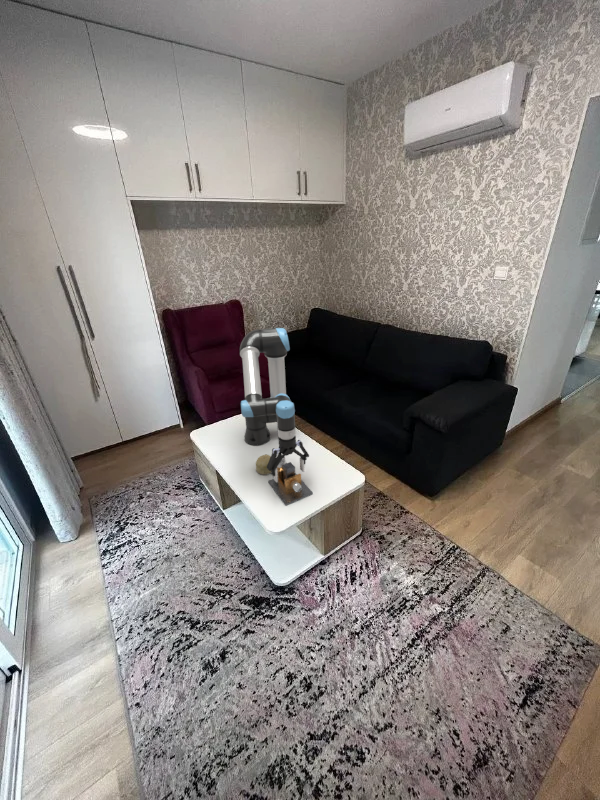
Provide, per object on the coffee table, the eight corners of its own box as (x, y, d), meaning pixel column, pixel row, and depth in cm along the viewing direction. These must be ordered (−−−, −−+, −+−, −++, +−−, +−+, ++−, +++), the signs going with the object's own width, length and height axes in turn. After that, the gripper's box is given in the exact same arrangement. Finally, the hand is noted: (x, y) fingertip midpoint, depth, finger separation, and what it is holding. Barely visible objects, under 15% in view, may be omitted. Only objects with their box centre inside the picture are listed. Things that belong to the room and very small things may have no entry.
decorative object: (262, 482, 164) (271, 470, 158) (248, 467, 165) (256, 456, 160) (272, 472, 171) (281, 461, 166) (259, 459, 173) (267, 448, 167)
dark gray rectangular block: (284, 485, 154) (282, 464, 149) (291, 482, 156) (290, 462, 150) (288, 490, 151) (286, 469, 145) (295, 487, 152) (294, 466, 147)
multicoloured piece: (265, 478, 160) (263, 458, 155) (290, 469, 166) (289, 449, 161) (285, 505, 143) (283, 484, 138) (312, 494, 149) (312, 473, 144)
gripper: (263, 448, 133) (267, 489, 142) (316, 431, 143) (316, 470, 153) (256, 440, 139) (260, 480, 148) (307, 424, 149) (308, 462, 159)
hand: (289, 475), depth 150 cm, fingers open, 13 cm apart
